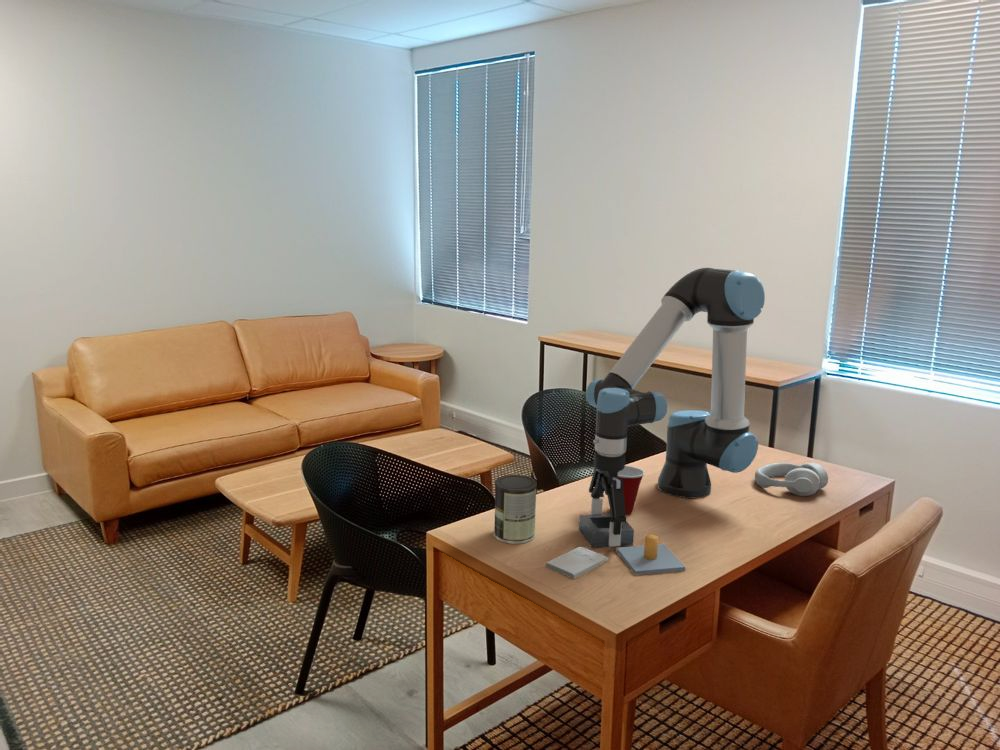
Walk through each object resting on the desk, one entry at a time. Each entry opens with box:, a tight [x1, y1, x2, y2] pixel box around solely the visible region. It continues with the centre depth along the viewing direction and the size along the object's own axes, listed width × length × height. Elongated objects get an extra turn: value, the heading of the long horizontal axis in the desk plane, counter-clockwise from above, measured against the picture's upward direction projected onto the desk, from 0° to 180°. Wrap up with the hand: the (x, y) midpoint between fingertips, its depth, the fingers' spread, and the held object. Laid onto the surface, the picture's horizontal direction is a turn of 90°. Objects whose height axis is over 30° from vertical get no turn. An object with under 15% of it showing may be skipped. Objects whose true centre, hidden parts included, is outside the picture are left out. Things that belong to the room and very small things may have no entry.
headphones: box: [754, 462, 829, 497], centre depth 230 cm, size 18×8×20 cm
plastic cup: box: [618, 465, 646, 516], centre depth 209 cm, size 11×11×12 cm
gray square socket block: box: [578, 512, 635, 549], centre depth 193 cm, size 10×10×4 cm
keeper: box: [616, 534, 686, 576], centre depth 181 cm, size 12×12×6 cm
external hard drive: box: [545, 546, 608, 580], centre depth 179 cm, size 2×8×12 cm
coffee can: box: [493, 474, 538, 545], centre depth 192 cm, size 10×10×14 cm
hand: (604, 534), depth 193 cm, fingers open, 13 cm apart
